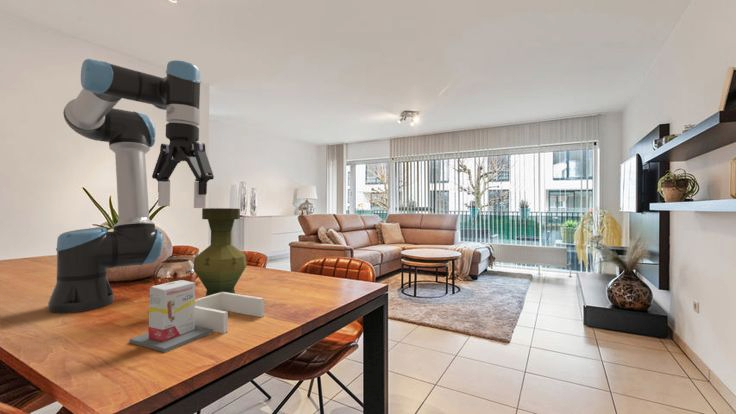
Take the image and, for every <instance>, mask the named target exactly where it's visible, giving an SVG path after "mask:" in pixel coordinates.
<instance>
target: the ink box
mask: <svg viewBox="0 0 736 414" xmlns="http://www.w3.org/2000/svg"><path fill="white" fill-rule="evenodd" d="M195 300H196V282H194V281H189V280H184V279H180V280H175V281H174V280H173V281H170V282H165V283H161V284H157V285H152V286H151V287H150V288H149V304H148V307H149V310H148V332H149V339H153V340H157V341H162V342H164V341H167V340H169V339H172V338H174V337H177V336H179V335H182V334H184V333H187V332H189V331H192V330H194V329H195Z"/></svg>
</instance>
